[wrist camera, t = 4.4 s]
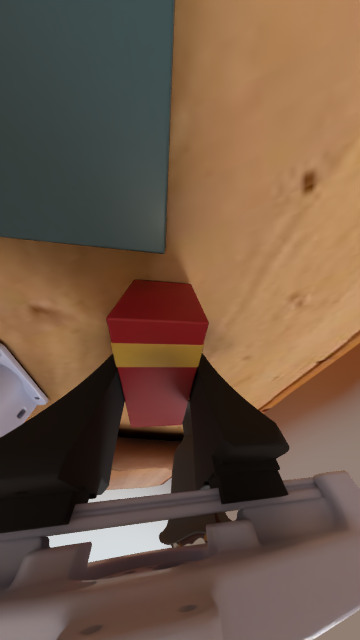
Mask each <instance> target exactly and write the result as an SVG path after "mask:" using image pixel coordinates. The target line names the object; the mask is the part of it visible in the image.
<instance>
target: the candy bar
mask: <svg viewBox="0 0 360 640" xmlns="http://www.w3.org/2000/svg"><path fill="white" fill-rule="evenodd" d="M106 320H107V324H108V329H109V333H110V337H111V347H112V351H113V355H114V360H115V364H116V367H117V368H118V372H119V376H120V381H121V385H122V389H123V394H124V398H125V402H126V407H127V411H128V416H129V420H130V424H131V427H150V426H170V425H182V422H183V419H184V415H185V411H186V407H187V403H188V400H189V396H190V392H191V388H192V385H193V381H194V377H195V373H196V370H197V367H198V365H199V362H200V358H201V354H202V351H203V347H204V339H205V336H206V332H207V328H208V324H209V322H208V320H207V318H206V316H205V313H204V311H203V309H202V307H201V305H200V303H199V300H198V298H197V296H196V294H195V292H194V290H193V288H192V285H191V284H182V283H169V282H157V281H144V280H134V281H133V282H132V284H131V285H130V286H129V288H128V289H127V290H126V292H125V293H124V295H123V296H122V297H121V299H120V300H119V301H118V303H117V304H116V306H115V307H114V308H113V310H112V311H111V312H110V314H109V315H108V317H107V319H106Z"/></svg>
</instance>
